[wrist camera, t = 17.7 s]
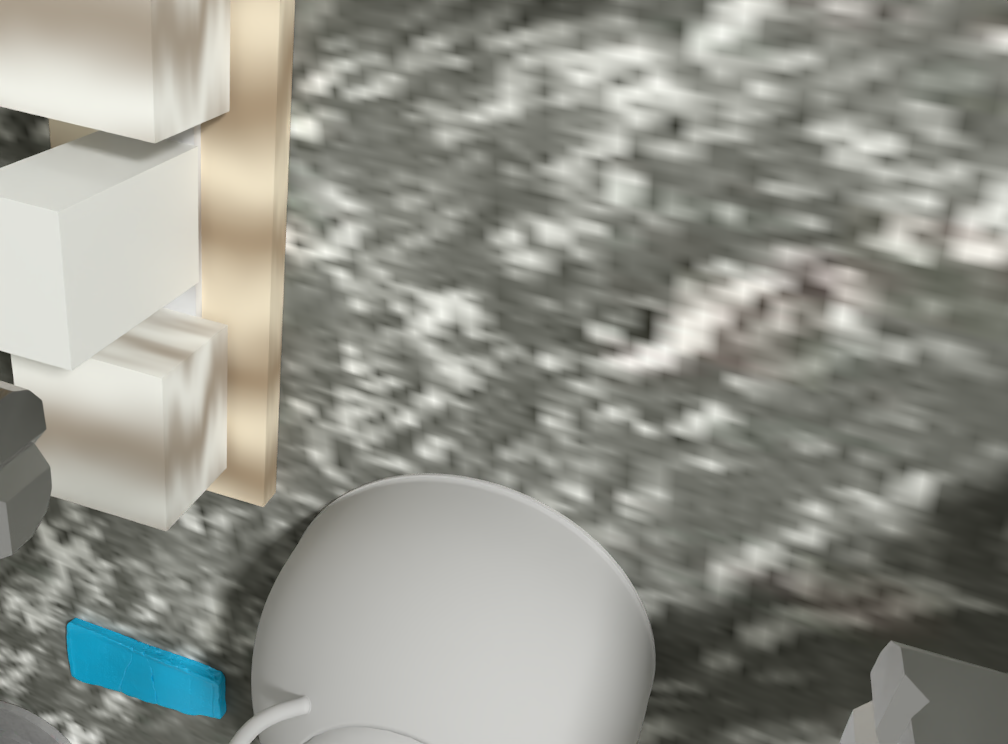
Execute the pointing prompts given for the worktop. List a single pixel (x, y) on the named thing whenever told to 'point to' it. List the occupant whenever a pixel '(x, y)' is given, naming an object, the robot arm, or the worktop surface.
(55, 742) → the mate gourd
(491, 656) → the kettle
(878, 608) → the worktop surface
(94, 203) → the block
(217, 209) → the rail board
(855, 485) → the worktop surface
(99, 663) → the sponge
